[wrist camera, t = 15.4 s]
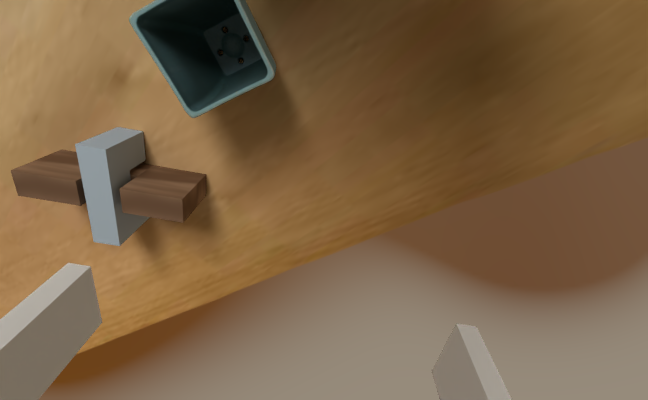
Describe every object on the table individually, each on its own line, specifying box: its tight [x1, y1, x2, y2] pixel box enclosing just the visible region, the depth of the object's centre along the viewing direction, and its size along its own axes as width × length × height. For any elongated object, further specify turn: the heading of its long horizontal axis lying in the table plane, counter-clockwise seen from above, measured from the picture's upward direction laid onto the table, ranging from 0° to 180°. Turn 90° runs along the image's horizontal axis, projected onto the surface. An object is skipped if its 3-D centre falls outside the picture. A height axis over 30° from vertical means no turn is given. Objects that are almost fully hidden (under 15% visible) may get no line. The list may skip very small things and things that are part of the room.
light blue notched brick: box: [75, 127, 150, 246], centre depth 38 cm, size 12×3×7 cm, turn 170°
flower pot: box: [129, 0, 276, 118], centre depth 30 cm, size 9×9×9 cm
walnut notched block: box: [11, 150, 206, 223], centre depth 38 cm, size 3×18×7 cm, turn 80°
